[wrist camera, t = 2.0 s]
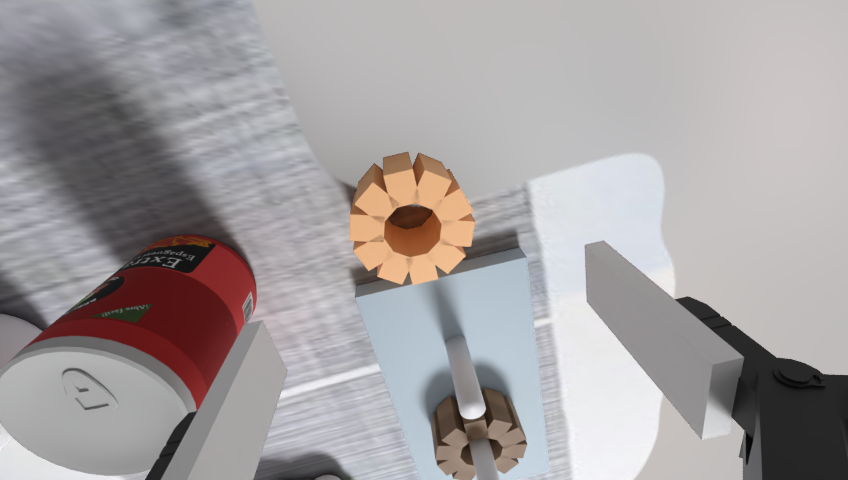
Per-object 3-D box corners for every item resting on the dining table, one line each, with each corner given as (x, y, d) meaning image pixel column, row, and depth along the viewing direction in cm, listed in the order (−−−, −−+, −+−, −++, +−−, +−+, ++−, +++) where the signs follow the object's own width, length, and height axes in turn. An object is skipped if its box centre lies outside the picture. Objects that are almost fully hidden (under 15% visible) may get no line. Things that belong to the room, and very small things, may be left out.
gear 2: (422, 400, 31) (426, 433, 28) (510, 379, 31) (522, 410, 28) (439, 455, 34) (444, 489, 31) (519, 436, 34) (531, 469, 31)
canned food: (211, 210, 24) (95, 317, 15) (283, 303, 28) (229, 440, 18) (111, 260, 25) (-63, 394, 15) (193, 344, 29) (94, 498, 19)
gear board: (356, 285, 28) (348, 360, 21) (519, 247, 28) (563, 309, 21) (425, 484, 38) (435, 576, 32) (543, 457, 38) (578, 543, 32)
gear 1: (339, 168, 24) (331, 188, 20) (451, 141, 24) (464, 156, 20) (369, 263, 27) (368, 295, 23) (469, 240, 27) (483, 268, 23)
